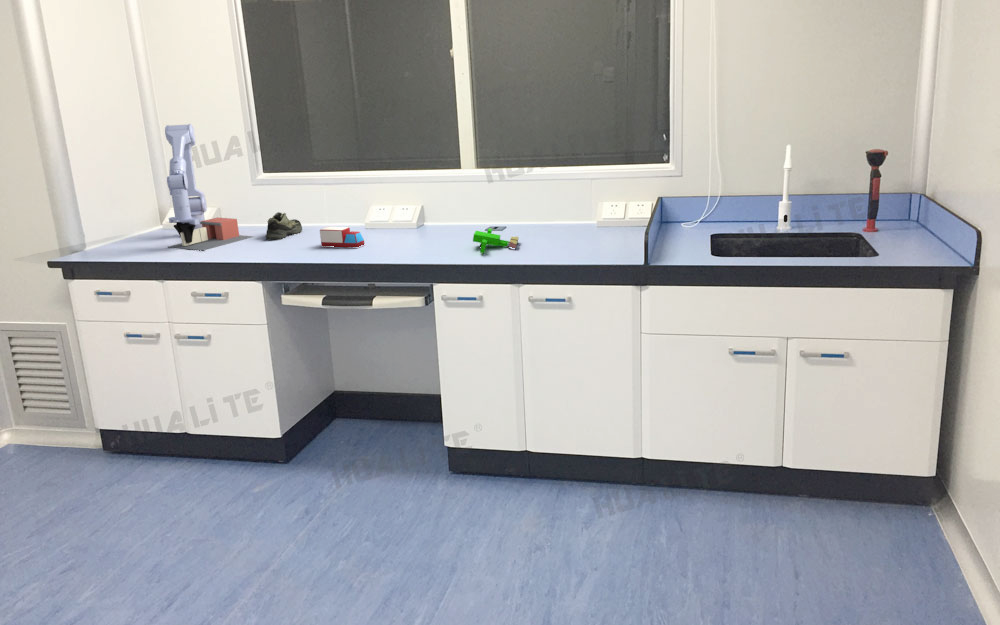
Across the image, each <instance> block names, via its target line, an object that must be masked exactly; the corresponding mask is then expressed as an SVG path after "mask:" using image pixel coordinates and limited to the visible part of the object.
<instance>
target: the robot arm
mask: <svg viewBox="0 0 1000 625" xmlns="http://www.w3.org/2000/svg"><path fill="white" fill-rule="evenodd" d="M164 134H165V139H166V141H168V143H169V145H170V146H171V150H172V158H171V159H169V170H168V171H169V173H168V175H169V176H167V177H166V184H167V189H168V191H169V196H171V202H172V207H173V213H174V216H171V217H168V222H169V224H172V223H173V228H174V229H175V231H176V232H177V234H178V235H179V237H180V238H181V235H180V233H181V232H183V233H184V237H185V241H186V243H190V242H192V236H193V231H194V229H198V228H202V224H200V222H201V221H205V220H206V219H205V213H206V212H207V209H208V205H207V200H206V196H205V193H204V192H203V191H201V190H200V189H198V188H197V185H196V183H197V182H196V178H195V171H194V170H195V169H194V164H193V156H192V147H193V146H196V135H195V129H194V126H193V125H192V124H191V123H189V124H188V123H187V124H173V125H169V124H168V125H165V127H164Z"/></svg>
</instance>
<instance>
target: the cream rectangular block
mask: <svg viewBox="0 0 1000 625" xmlns="http://www.w3.org/2000/svg"><path fill="white" fill-rule="evenodd" d="M180 235H181V237H180V241H181V243H182V246H187V245H191V244H195V243H198V242H202V241H206V240H208V236H207V230H206V227H202V228H198V229H194V231H193V236H192V242H190V243H186V241H185V237H184V233H183V232H181V233H180ZM180 235H179V236H180Z"/></svg>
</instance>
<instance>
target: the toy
mask: <svg viewBox="0 0 1000 625" xmlns="http://www.w3.org/2000/svg"><path fill="white" fill-rule="evenodd" d="M486 231H487V232H485V231H480V230H475V232H474V233H473V237H472V242H474V243H480V244H479V247H481V249H479V250H480V251H479V253H481V254H484V253H485V252H486V247H487V245H490V246H497V247H498V246H500V247H505V246H509V247H512V248H516V249H517V246H518V242H519V236H511V237H510V240H504V239H501V234H497V233H496V234H495V233H493V229H492V228H488V229H487V230H486ZM479 247H478V248H479ZM509 247H508V248H509ZM484 251H485V252H484Z"/></svg>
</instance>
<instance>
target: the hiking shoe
mask: <svg viewBox="0 0 1000 625" xmlns="http://www.w3.org/2000/svg"><path fill="white" fill-rule="evenodd" d="M302 232H303V226H302V223H301V222H300V220H299V219H290V218H288V216H287V213H286V212H279V211H278V212H276V213H275V214H274V215H273V216H272V217H269V219H268V220H267V229H266V235H265V239H266V240H268V241H280V240H283V238H284V239H285V238H286V237H289V235H290V236H295V235H294V234H296V235H298V233H299V234H301V233H302Z"/></svg>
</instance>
